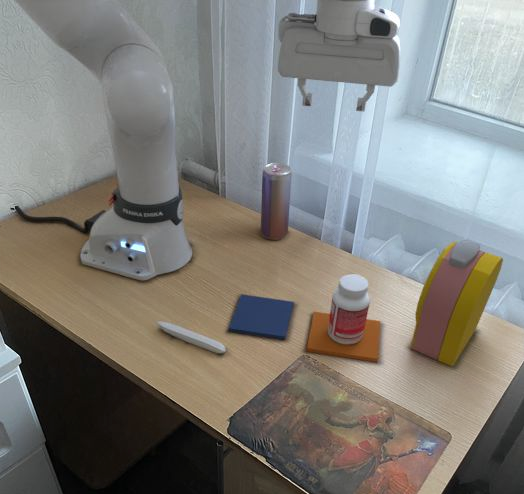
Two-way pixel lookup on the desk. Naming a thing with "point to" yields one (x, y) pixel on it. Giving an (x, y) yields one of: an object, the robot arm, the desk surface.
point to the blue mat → (262, 317)
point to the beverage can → (275, 200)
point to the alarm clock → (454, 300)
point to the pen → (192, 337)
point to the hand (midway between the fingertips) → (333, 107)
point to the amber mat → (360, 350)
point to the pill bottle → (349, 309)
